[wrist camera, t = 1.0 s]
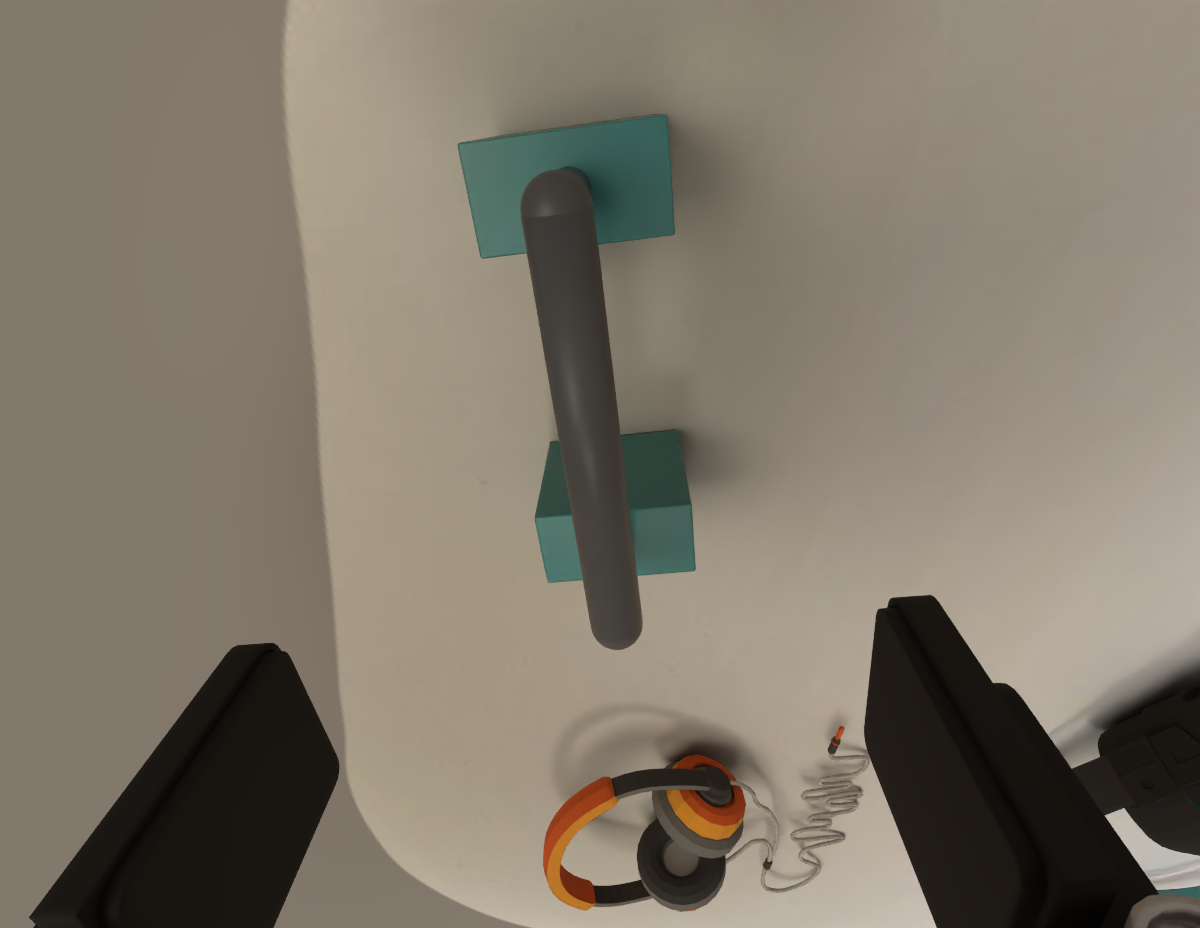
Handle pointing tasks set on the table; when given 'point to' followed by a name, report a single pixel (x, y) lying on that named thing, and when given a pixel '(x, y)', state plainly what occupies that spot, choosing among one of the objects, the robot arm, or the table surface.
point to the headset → (589, 351)
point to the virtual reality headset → (1154, 773)
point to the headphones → (681, 832)
